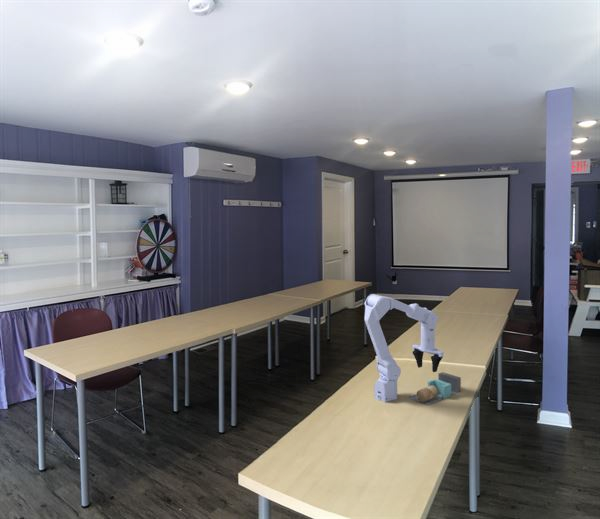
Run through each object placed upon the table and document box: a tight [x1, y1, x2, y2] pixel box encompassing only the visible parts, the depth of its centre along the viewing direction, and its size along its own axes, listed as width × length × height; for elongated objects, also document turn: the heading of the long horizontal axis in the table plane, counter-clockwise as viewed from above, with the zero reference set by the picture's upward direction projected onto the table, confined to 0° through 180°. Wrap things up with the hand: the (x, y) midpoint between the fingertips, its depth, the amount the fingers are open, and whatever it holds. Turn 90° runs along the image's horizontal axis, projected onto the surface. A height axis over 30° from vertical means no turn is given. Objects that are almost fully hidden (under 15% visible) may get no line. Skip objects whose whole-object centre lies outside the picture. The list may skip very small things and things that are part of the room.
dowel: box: [416, 385, 439, 403], centre depth 184 cm, size 8×5×5 cm, turn 127°
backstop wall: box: [437, 371, 462, 394], centre depth 195 cm, size 3×9×6 cm, turn 37°
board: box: [409, 391, 457, 406], centre depth 188 cm, size 20×10×1 cm, turn 127°
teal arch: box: [427, 378, 452, 400], centre depth 189 cm, size 5×8×5 cm, turn 37°
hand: (427, 369), depth 193 cm, fingers open, 7 cm apart
